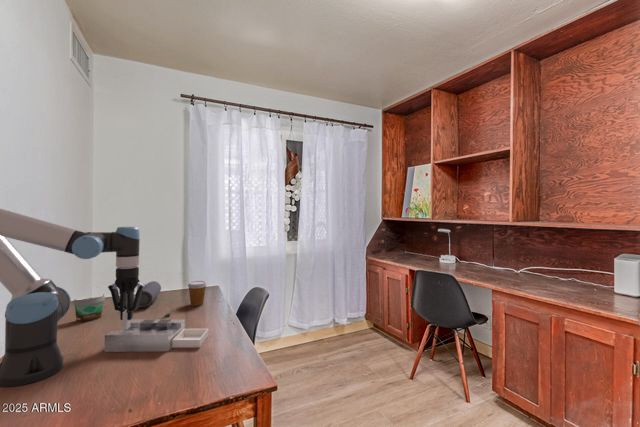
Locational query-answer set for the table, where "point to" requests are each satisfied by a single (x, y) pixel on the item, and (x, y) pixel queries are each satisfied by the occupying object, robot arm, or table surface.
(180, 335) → the tray
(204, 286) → the disposable coffee cup
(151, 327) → the dark gray cube
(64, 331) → the table surface
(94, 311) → the food container
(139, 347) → the slot block
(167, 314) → the tomahawk
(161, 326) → the dark grey cube
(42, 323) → the robot arm
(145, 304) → the bluetooth speaker
